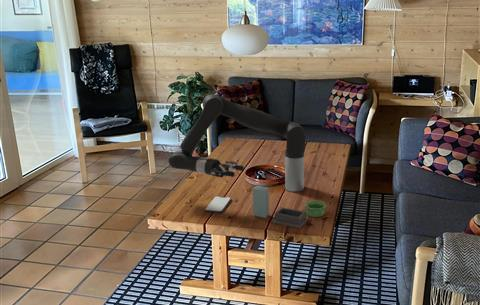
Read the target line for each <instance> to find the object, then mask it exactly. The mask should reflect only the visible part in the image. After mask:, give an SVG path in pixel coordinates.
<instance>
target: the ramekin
mask: <svg viewBox="0 0 480 305" xmlns="http://www.w3.org/2000/svg"><path fill="white" fill-rule="evenodd" d="M326 207H327V204H326V203H325V202H324V201H322V200H321V201H320V200H309V201H306V203H305V209H306V210H305V212H306V216H308V217H313V218H320V217H323V216H324V215H325V212H326Z"/></svg>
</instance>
